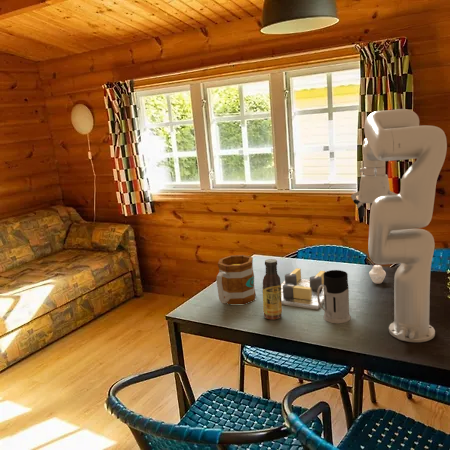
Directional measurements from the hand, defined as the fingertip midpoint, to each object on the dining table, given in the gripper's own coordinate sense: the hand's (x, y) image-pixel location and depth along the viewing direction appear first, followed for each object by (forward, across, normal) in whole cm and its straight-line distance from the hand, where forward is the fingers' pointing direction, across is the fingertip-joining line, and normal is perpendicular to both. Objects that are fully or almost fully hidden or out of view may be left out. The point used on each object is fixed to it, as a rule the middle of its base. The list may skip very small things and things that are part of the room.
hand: (374, 217), depth 168 cm
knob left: (+24, -27, -15) cm, 39 cm away
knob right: (+24, -17, -15) cm, 33 cm away
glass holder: (+26, -4, -37) cm, 45 cm away
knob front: (+24, -20, -28) cm, 42 cm away
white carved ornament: (+26, +1, 0) cm, 26 cm away
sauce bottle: (+26, -23, -42) cm, 54 cm away
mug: (+26, -42, -36) cm, 61 cm away
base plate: (+26, -22, -21) cm, 39 cm away
